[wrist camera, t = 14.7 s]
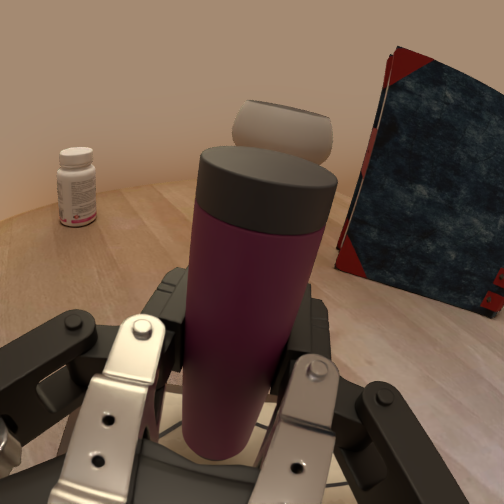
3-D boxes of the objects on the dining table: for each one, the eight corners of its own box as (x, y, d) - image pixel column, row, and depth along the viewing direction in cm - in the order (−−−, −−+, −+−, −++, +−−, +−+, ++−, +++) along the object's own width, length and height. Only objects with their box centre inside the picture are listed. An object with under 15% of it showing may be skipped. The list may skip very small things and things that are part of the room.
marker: (208, 478, 11) (271, 192, 5) (169, 431, 13) (174, 146, 6) (258, 446, 13) (362, 182, 7) (219, 405, 14) (270, 145, 8)
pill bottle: (101, 212, 36) (102, 146, 32) (87, 229, 32) (85, 156, 28) (69, 209, 35) (68, 145, 31) (53, 225, 31) (48, 155, 27)
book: (488, 295, 36) (550, 138, 23) (503, 324, 30) (579, 147, 17) (335, 244, 40) (387, 54, 27) (332, 271, 34) (397, 43, 21)
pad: (398, 568, 8) (405, 567, 7) (38, 555, 6) (33, 554, 5) (357, 399, 19) (361, 393, 19) (88, 372, 17) (86, 365, 17)
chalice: (204, 191, 48) (219, 95, 40) (275, 188, 55) (293, 106, 48) (254, 233, 38) (280, 109, 31) (331, 223, 46) (358, 126, 38)
